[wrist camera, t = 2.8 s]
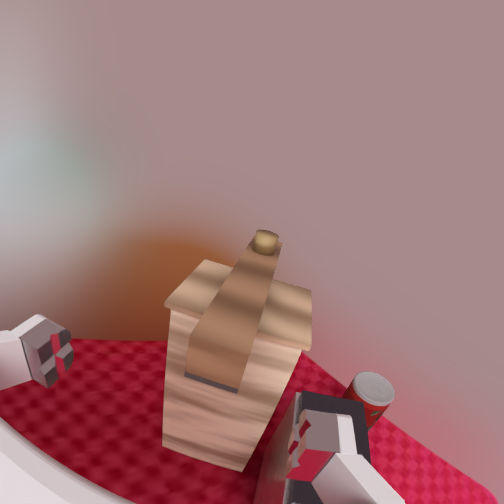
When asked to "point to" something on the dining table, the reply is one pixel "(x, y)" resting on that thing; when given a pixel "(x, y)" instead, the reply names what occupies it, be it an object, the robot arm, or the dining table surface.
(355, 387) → the canned food
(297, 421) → the grey box
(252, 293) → the bar
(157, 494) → the dining table surface
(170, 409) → the shelf block
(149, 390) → the dining table surface
